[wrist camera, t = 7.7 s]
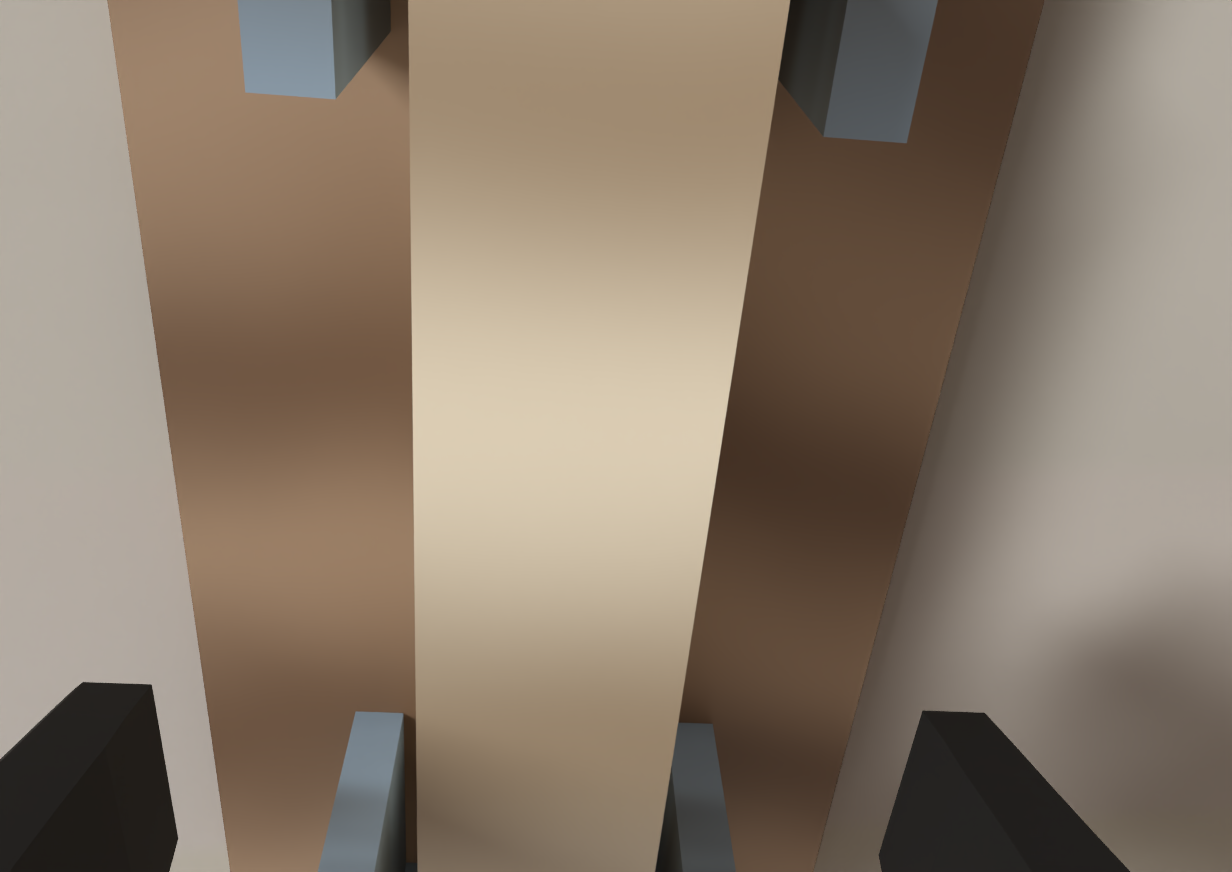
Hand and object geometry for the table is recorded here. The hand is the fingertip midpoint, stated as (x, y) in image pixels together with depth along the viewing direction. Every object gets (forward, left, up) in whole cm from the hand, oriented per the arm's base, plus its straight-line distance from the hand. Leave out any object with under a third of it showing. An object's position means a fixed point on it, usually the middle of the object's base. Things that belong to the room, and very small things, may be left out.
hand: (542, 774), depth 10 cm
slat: (0, 0, -6) cm, 6 cm away
